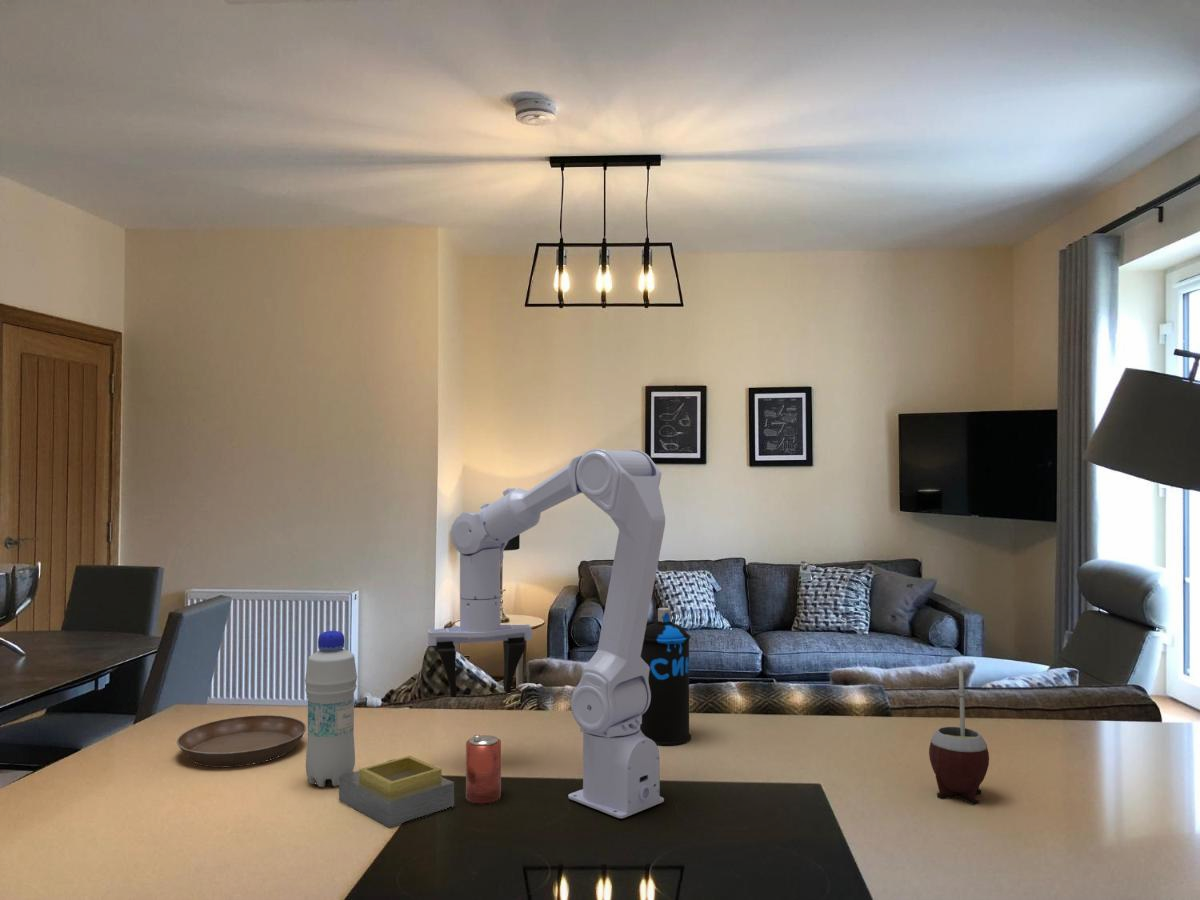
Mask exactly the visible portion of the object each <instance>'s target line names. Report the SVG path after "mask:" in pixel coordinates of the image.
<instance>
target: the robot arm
mask: <svg viewBox="0 0 1200 900" xmlns="http://www.w3.org/2000/svg"><path fill="white" fill-rule="evenodd" d="M661 478H662V471H661V470H660V469H659V468H658V466H657V465H656V464H655V462H654V461H653V459H652V458H651V456H649V454H647V453H646V452H644V451H641V450H638V449H631V450H614V449H612V450H608V449H603V448H593V449H590V450H587V451H586V452H585V453H583V454H582V455H578V456H575V457H573V458H572V459H571V461H570V463H568V464H566V465H564V467H562V468H561V469H559V470H558V471H556V472H555V473H553V474H552V475H550V476H548V477H547V478H546V479H544V480H543V481H542V482H540V483H538V484H536V485H535V486H534V487H533V488H530V490H527V489H523V488H514V487H511V488H510V487H509V488H507V489H505V490H503V491H502V494H503V496H501V497H500V498H498V499H496V500H494V501H493V502H491V503H484V504H482V505H481V506H480V509H479V510H478V511H477V512H475V513H474V512H469V511H468V512H461V513H460V515H459V516H457V517H456V518H455V519H454V520H453V523H452V526H451V529H450V536H451V537H450V538H451V542H452V544H453V547H454V549H455V550H456V551H458V553H459V626H454V627H446V628H438V629H437V628H436V629H428V630H427V644H428V647H435V648H436V650H437V653H438V655H439V657H440V660H441V662H442V665H443V669H444V671H445V675H446V679H447V681H448V688H449V695H450V698H457V682H456V681H457V680H456V678H457V677H456V663H457V662H456V660H457V651H456V646H455V644H469V643H470V644H471V643H489V642H502V644H503V661H504V662H503V663H504V664H503V666H504V668H503V669H504V670H503V691H504V693H505V694H511V693H512V685H513V683H514V682H513V681H514V676H515V673H516V670H517V667H518V665H519V663H520V660H521V658H522V656H523V654H524V652H525V650H526V647H527V646H526V642H525V641H532V639H533V636H532V635H533V634H532V633H533V629H532V628H533V627H532V626H531V625H530V624H501V563H502V562H503V560H504V551H505V548H506V546H508V543H509V541H510V540H512V539H513V538H515V537H518V536H519V535H521V534H523V533H524V532H526V531H528V530H530V529H532V528H534V527H535V526H537V525H538V523H539V522H540V519H541V514H542V512H545V511H546V510H548V509H551V508H553V507H555V506H557V505H559V504H561V503H563V502H565V501H567V500H569V499H572V498H573V497H575V496H578V495H580V494H583V495H584V496H585V497H586V498H587V499H589V500H590V501H591V502H592V503H594V504H595V506H597V507H598V508H599V509H601V511H603V512H604V513H605V514H607V515H608V516H609V517H610V519H611V521H613V522H614V524H615V525H616V527H617V528H618V534H617V535H618V536H617V540H616V546H615V552H614V557H613V562H612V569H611V573H610V579H609V584H608V591H607V596H606V600H605V601H606V602H605V607H604V611H603V613H604V614H603V616H602V617H603V618H602V623H601V628H600V629H601V630H600V633H599V634H600V636H599V639H598V645H597V650H596V652H595V653H594V654H593V656H592V657H591V658H590V659H589V661H588V662H587V663H586V665H585V666H584V667H583V669H582V673H581V678H580V681H579V683H578V684H577V685H576V686H575V688H574V690H573V692H572V694H571V698H570V708H571V709H570V710H571V713H572V715H573V718H574V721H575V722H576V723H577V725H578V726H579V727H580V731H579V732H581V733H582V780H583V781H582V789H579V790H576V791H574V792H571V793H569V794H568V796H567V797H568V799H569V800H571V801H575V802H577V803H579V804H581V805H584V806H587V807H589V808H592V809H594V810H598V811H600V812H602V813H605V814H607V815H610V816H612V817H615V818H618V819H625V818H628V817H630V816H632V815H635V814H637V813H639V812H642V811H645V810H647V809H650V808H652V807H654V806H656V805H660V804H662V803H664V802H665V798H664V797H662V796H661V795H660V794H661V793H660V791H661V790H660V788H661V787H660V786H661V785H660V783H661V782H660V779H661V778H660V777H661V776H660V775H661V773H660V768H661V767H660V762H661V761H660V751H659V750H660V749H659V747H658V745H656V743H655V742H654V741H653V740H651V739H649V738H647V737H646V736H645V735H644V734H643V733H642V731H641V730H640V724H642V714H644V713H645V712H646V711H647V709H648V707H649V705H650V701H651V691H650V687H649V681H648V677H649V671H650V667H649V666H648V664H647V663H646V662H645V661H644V660H643V659H642V658H641V651H642V646H643V640H644V635H645V630H646V627H647V623H648V618H649V613H650V607H651V603H652V596H653V591H654V586H655V581H656V575H657V571H658V570H657V569H658V565H659V560H660V559H659V558H660V556H661V555H660V554H661V550H662V549H661V548H662V544H663V543H662V542H663V539H664V538H663V537H664V533H665V526H666V515H665V510H664V506H663V501H662V497H661V491H660V483H661Z"/></svg>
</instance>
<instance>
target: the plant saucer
mask: <svg viewBox="0 0 1200 900" xmlns="http://www.w3.org/2000/svg"><path fill="white" fill-rule="evenodd" d="M306 730H307V724H306V723H305V722H304V721H302V720H300V719H297V718H294V717H290V716H284V715H283V716H282V715H267V714H266V715H265V714H264V715H261V714H260V715H245V716H238V717H237V716H236V717H230V718H224V719H220V720H219V719H218V720H215V721H210V722H207V723H204V724H201V725H198V726H195V727H193V728H191V729H189V730H186V731H185V732H183V733H182V734H181V735H179V736H178V738H177V740H176V744H177V746H178V748H179V749H180V751H182V753H183V754H184V755H185V756H186V757H187V758H188V759H189V760H191V761H192V762H193V763H195V762H196V763H195V764H197V763H198V765H200V764H202V765H201V766H204V765H208V766H207V767H212V766H234V767H240V766H239V765H244V766H248V765H247V764H251V765H254V764H253V763H256V764H259V763H258V762H261V763H264V762H263V761H265V762H267V761H266V760H269V761H271V760H270V759H272V760H274V759H273V758H275V759H277V758H276V757H278V756H280V757H282V756H281V755H283V754H285V753H286V754H288V753H289V752H291V749H292V750H293V749H294V748H295V747H296V746H297V744H298V743H299V742H300V741H301V739H302V738H303V736H304V734H305V732H306ZM287 752H288V753H287ZM286 754H285V755H286ZM283 756H284V755H283ZM278 758H279V757H278Z"/></svg>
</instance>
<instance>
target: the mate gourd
mask: <svg viewBox="0 0 1200 900" xmlns="http://www.w3.org/2000/svg"><path fill="white" fill-rule="evenodd" d="M964 683H965V680H964V669H963V668H958V684H959V687H958V689H957V690H958V691H957V692H958V697H959V725H960V726H959V727H958V726H945V727H944V726H943V727H939V728H938V729H936V731H935V732H934V733H933V736H932V737H931V739H930V743H929V744H930V745H929V749H928V756H929V762H930V764H931V765H930V766H931V768H932V771H933V773H934V775H935V779H936V784H937V787H938V792H936V796H937V798H938V799H939V800H944V799H952V798H959V799H962V800H963V801H965V802H968V803H969V804H970V805H973V806H974V805H978V804H979V803H978V802H979V800H978V799H976V796H977V795H978V796H979V795H982V789H980V785H981V784H982V783H983V781H984V779H985V778H986V775H987V772H988V769H989V765H990V754H989V750H988V749H989V748H988V744H987V743H986V740H985V739H984V737H983V736H982V734H980V733H979V732H978V731H976V730H973V729H972V728H971V729H970V728H967V727H966V720H965V719H966V718H965V716H966V715H965V712H966V711H965V698H966V690H965V684H964Z"/></svg>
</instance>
